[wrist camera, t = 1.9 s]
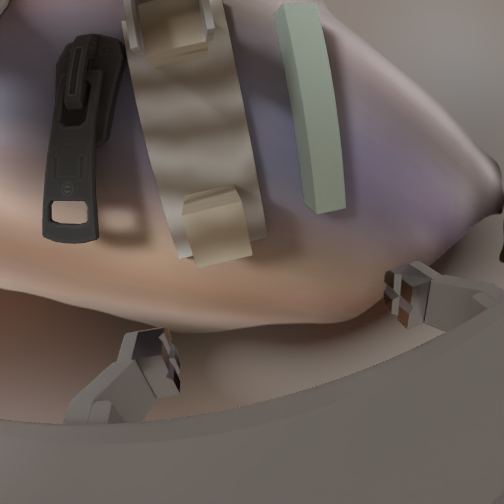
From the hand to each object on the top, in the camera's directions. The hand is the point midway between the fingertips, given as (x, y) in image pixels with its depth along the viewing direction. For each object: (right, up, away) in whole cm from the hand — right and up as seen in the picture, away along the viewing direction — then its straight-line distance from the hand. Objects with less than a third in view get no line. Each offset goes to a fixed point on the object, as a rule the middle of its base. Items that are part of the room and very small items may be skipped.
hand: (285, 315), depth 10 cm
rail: (+6, +21, +24) cm, 32 cm away
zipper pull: (-22, +17, +20) cm, 34 cm away
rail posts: (-8, +17, +22) cm, 29 cm away
